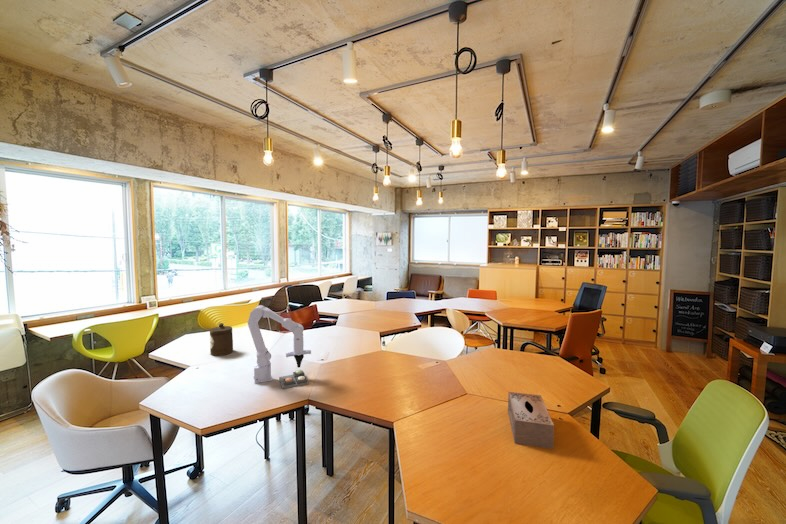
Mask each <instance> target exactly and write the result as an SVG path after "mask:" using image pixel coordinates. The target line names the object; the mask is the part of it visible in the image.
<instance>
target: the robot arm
mask: <svg viewBox="0 0 786 524" xmlns="http://www.w3.org/2000/svg"><path fill="white" fill-rule="evenodd" d="M261 318H263V319H265V318H269V319H271V320H273V321H276V322H278V323H280V324H281V327H282V328H284V329H285V330H287V331H290V332H291V333H292V334H293V351H290V352H286V353H285V357H286V358H289V357H294V359H295V362H296V365H297V369H298V368H301V365H302V362H303V359H304V358H305V355H312V350H311V349H304V329H305V328H304V326H303V325H302V323H298V322H295V321H293V320H292V318H291V317H289V318H288V317H286V318H285V317H284V316H281V315H279V313H276V312H275V311H273V310H271V309H270V308H269V307H266V306H264V305H262V304H259V305H257V306H256V307H255V308H253V309H251V312H250V313H249V317H248V320H247V327H248V328H249V329H248V330H249V332H250V335H251V338H252V341H253V344H254V347H255V350H256V358H257V359H256V363H257V365H254V367H253V372H254V373H253V380H254V384H259V383H267V382H271V381H273V377H272V365H271V364H272V363H271V359H272V354H271V352H270V351H269V350H268V348H267V347H266V345H265V340H264V338H263V335H262V332H261V329H260V326H259V322H260V320H261Z"/></svg>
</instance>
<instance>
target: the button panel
mask: <svg viewBox="0 0 786 524" xmlns="http://www.w3.org/2000/svg"><path fill="white" fill-rule="evenodd" d="M305 374H306V373H305V372H304V370H302V374H299V375H296V374H295V371H292V374H289V375H283V376H278V379H279V383H280V386H281V389H282V390H283V389H285V390H286V389H289V388H294V387H295V388H296V387H300V386H306V385H308V384H309V382H308V378H307V376H306V375H305ZM300 376H304V377H305V380H299V381H298V377H300ZM286 378H292V381H289V382H285V379H286Z"/></svg>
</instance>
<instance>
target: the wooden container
mask: <svg viewBox="0 0 786 524" xmlns="http://www.w3.org/2000/svg"><path fill="white" fill-rule="evenodd" d="M209 349H210V353H209V354H210V355H211V356H214V357H219V356H220V357H221V356H225V355H229V354H231V353H233V352H234V340H233V327H232V326H230V325H229V326H228V325H225V324H224V323H223V322H219V323H218V326H215V327H212V328H210V329H209Z"/></svg>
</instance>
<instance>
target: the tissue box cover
mask: <svg viewBox="0 0 786 524" xmlns="http://www.w3.org/2000/svg"><path fill="white" fill-rule="evenodd" d="M507 397H508V399H507V400H508V401H507V413H508V417H509V418H508V419H509V421H510V427H511V432H512V433H511V434H512V437H513V442H514V444H515V445H522V446H529V447H535V448H536V447H538V448H542V449H550V450H554V442H555V441H554V439H555V437H554V436H555V424H554V422H553V420H552V417H551V415H550V413H549V411H548V408H547V406H546V403H545V402H544V399H543V398H542V394H541V395H540V394H532V393H524V392H514V391H508V396H507Z"/></svg>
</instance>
